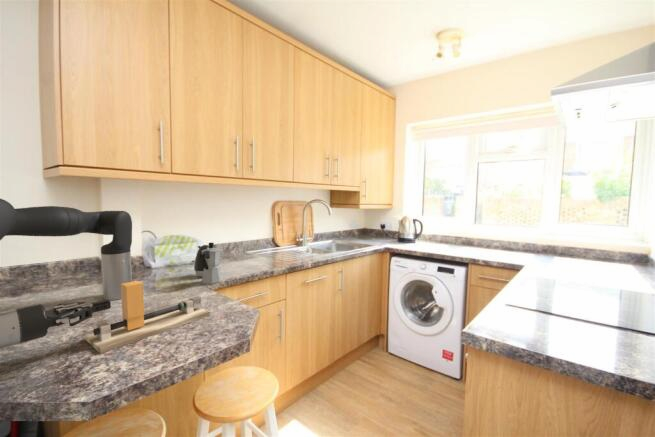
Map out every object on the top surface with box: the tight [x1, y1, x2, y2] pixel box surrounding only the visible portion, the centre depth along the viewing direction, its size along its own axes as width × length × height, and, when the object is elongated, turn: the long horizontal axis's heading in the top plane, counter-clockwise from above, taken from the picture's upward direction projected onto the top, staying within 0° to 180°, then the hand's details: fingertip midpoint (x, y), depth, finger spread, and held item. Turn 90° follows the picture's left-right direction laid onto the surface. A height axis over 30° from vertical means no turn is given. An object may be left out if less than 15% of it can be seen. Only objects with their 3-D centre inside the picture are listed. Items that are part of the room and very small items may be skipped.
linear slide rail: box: [84, 295, 211, 354], centre depth 87 cm, size 12×29×5 cm, turn 143°
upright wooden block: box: [121, 280, 145, 330], centre depth 82 cm, size 4×4×12 cm
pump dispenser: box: [193, 244, 209, 278], centre depth 143 cm, size 10×10×15 cm
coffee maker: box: [201, 242, 223, 285], centre depth 132 cm, size 15×9×18 cm, turn 178°
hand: (109, 303), depth 78 cm, fingers closed
